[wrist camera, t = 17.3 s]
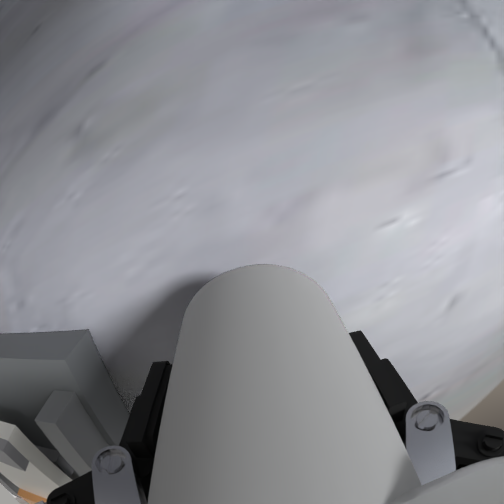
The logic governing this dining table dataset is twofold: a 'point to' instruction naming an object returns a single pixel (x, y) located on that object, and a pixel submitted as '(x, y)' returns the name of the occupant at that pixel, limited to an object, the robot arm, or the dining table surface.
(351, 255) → the dining table surface
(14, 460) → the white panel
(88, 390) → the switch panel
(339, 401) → the beverage can
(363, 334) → the robot arm
